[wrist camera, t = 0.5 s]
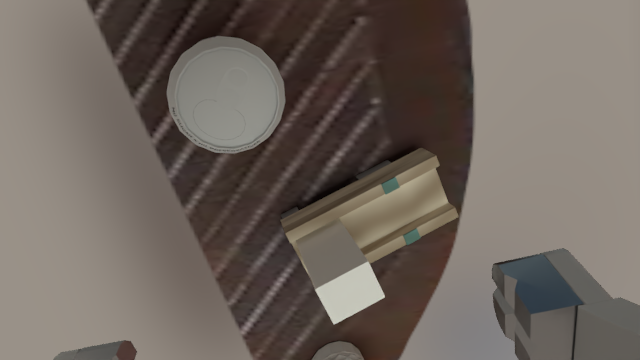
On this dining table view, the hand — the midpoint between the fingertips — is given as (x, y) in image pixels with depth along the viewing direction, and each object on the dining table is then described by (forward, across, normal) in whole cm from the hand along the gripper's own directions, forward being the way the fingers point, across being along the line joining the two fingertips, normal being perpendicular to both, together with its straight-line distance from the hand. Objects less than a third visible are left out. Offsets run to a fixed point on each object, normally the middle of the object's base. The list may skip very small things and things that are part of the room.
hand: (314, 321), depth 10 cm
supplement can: (+38, +8, +3) cm, 39 cm away
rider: (+32, +1, +21) cm, 38 cm away
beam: (+37, -3, +20) cm, 43 cm away
